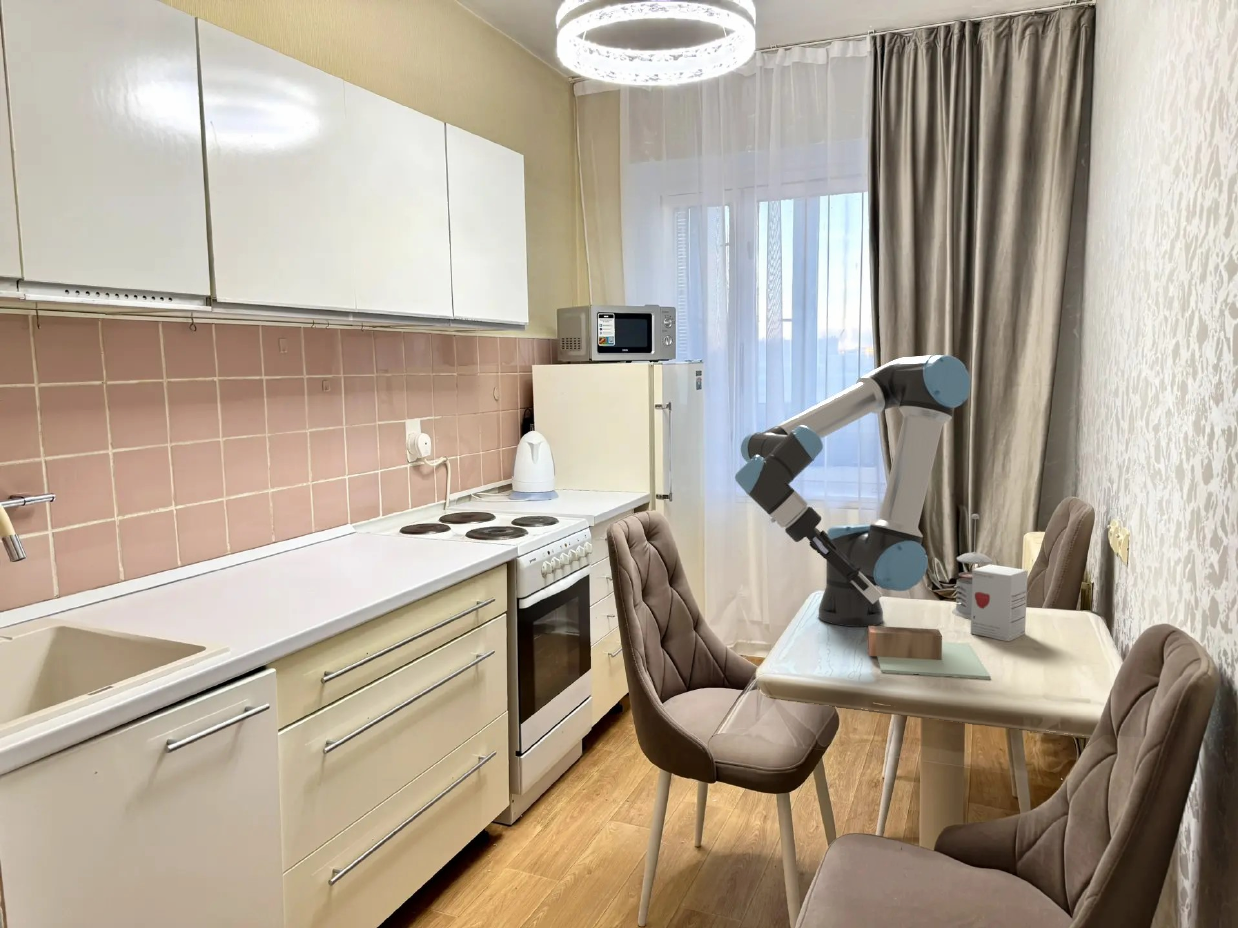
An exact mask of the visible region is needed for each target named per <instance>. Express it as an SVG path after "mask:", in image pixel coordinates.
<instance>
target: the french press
mask: <svg viewBox="0 0 1238 928" xmlns="http://www.w3.org/2000/svg"><path fill="white" fill-rule="evenodd" d="M970 517H971V519H972V520H974V535H973V536H974V538H973V544H974V545H973V552H965V553H963V554H961V555H959V556H957V557H956V560H957V562H960V563H963V564H970V565H973V569H976V568H977V567H975V566H976V565H988V564H990V563H992V562H993V559H991V558H990V557H989V556H987V555H985V554H983V553H979V552H977V551H976V529H977V528H976V527H977V520H980V518H981V517H980V515H979V514H978V513H973V514H971V516H970ZM972 575H973V571H965V572H964V571H963V572H959V573H958V577H959V578H958V579H956V600H955V601H956V605H955V608H954V609H952V611H951V613H952V614H953V615H955V616H958V617H961V616H962V617H961V618H965V617H966V618H967V619H971V606H972Z"/></svg>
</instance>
